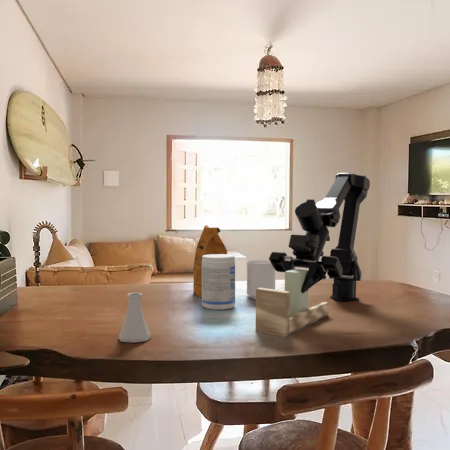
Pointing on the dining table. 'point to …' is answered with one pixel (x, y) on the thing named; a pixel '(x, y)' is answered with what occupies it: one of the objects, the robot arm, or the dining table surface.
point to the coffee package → (205, 246)
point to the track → (283, 313)
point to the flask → (134, 322)
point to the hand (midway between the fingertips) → (294, 291)
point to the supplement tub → (218, 281)
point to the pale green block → (296, 290)
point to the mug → (259, 276)
